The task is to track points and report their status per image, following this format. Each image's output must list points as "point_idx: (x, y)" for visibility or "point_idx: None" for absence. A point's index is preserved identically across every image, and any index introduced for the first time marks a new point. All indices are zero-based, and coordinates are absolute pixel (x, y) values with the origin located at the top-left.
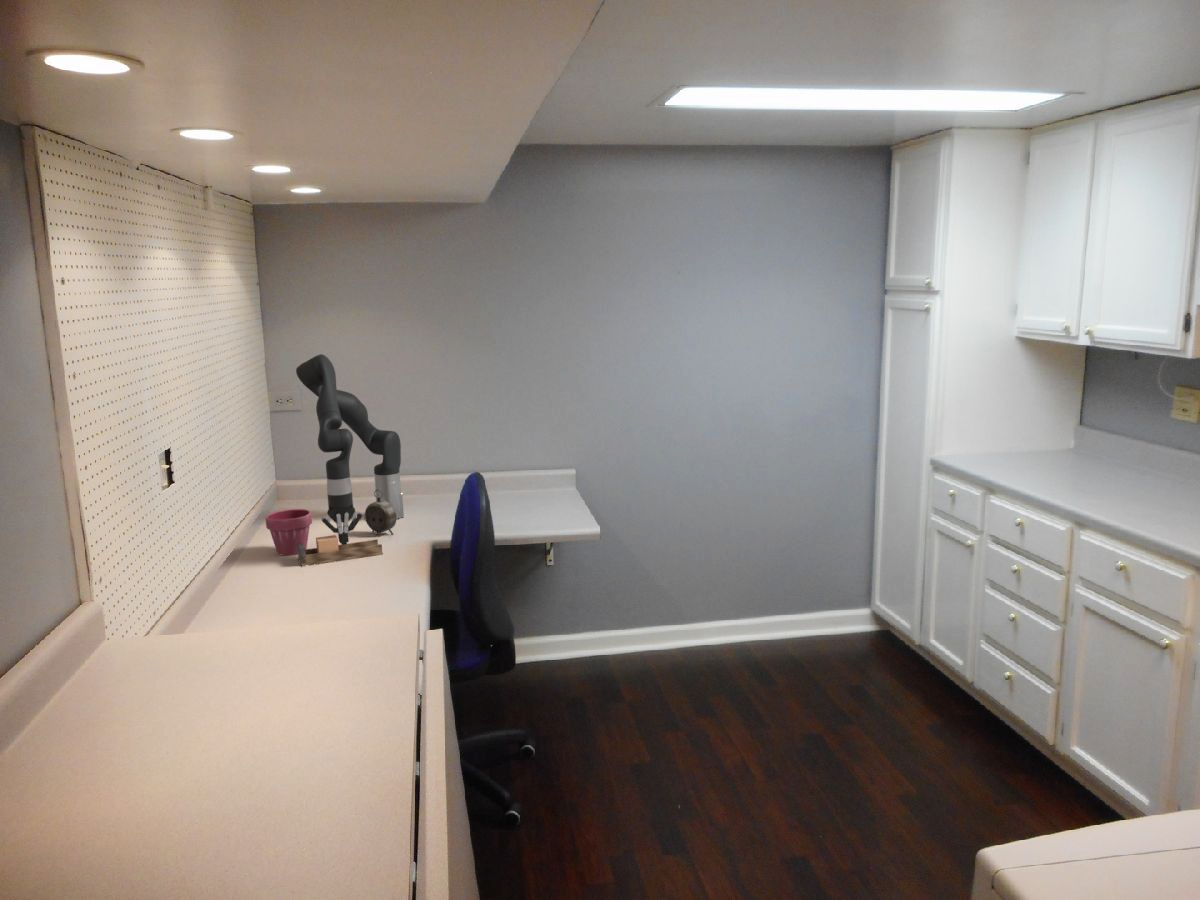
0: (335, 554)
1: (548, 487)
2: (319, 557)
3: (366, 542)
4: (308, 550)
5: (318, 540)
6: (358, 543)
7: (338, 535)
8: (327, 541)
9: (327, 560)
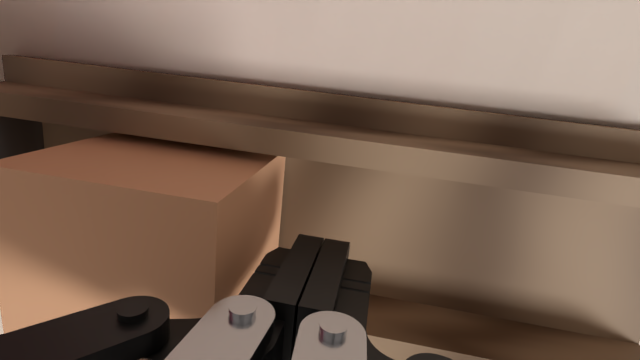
0: None
1: None
2: None
3: (607, 199)
4: (27, 117)
5: (8, 305)
6: (511, 186)
7: (242, 292)
8: None
9: None
